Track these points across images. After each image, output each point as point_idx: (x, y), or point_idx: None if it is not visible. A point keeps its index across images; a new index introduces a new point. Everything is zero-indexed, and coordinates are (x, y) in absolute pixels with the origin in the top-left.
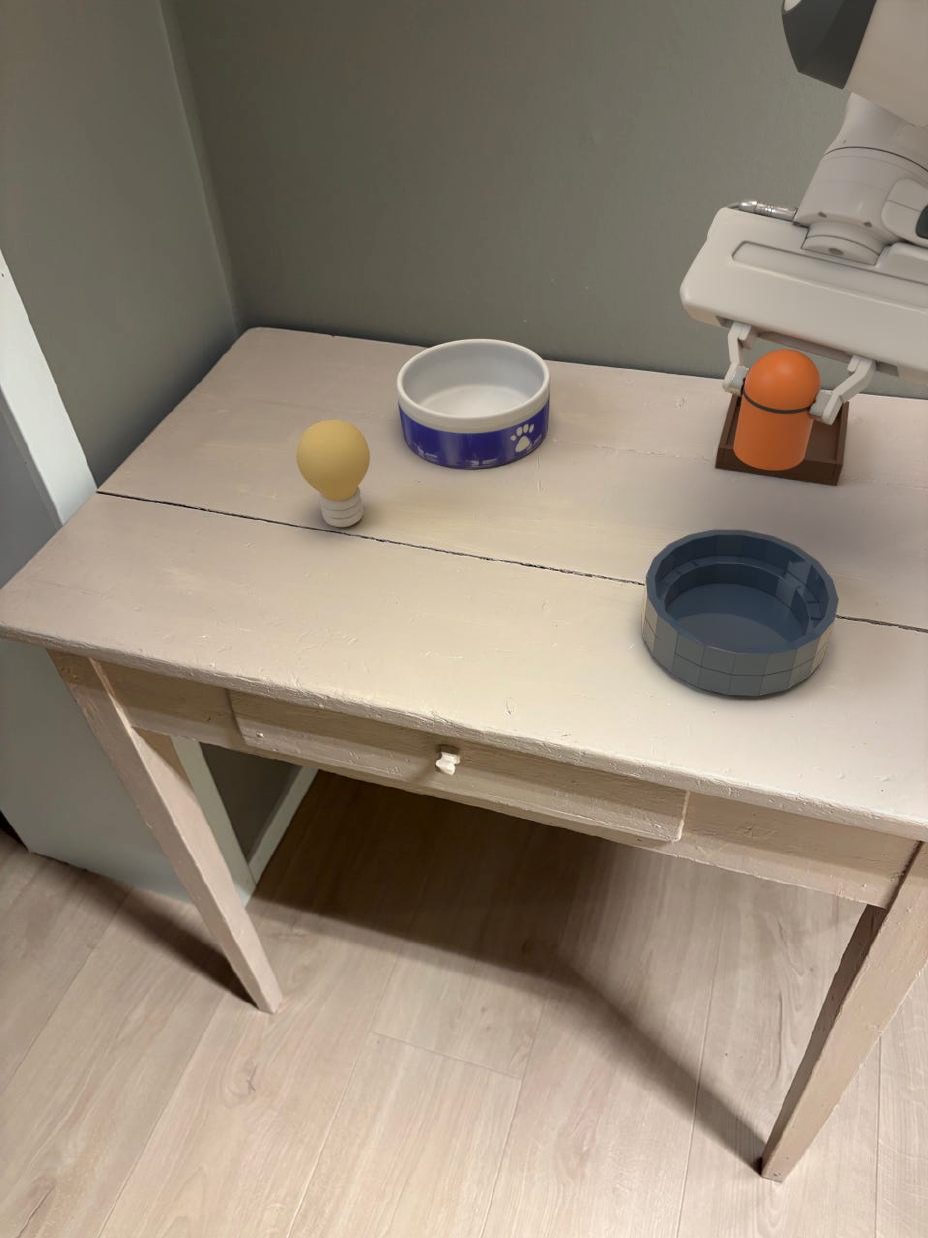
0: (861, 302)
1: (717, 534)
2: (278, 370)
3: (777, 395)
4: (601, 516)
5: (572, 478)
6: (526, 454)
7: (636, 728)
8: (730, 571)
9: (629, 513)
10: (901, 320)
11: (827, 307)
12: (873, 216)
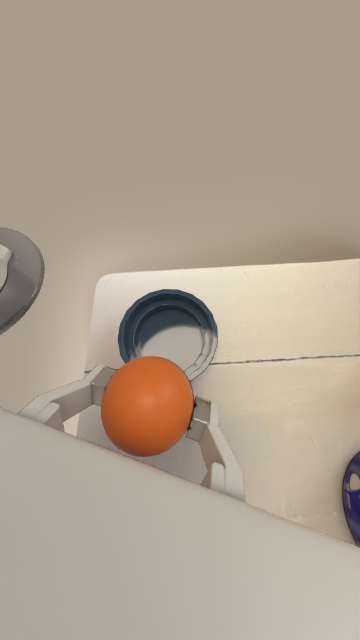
0: None
1: (187, 376)
2: None
3: (151, 356)
4: (261, 419)
5: (297, 459)
6: (344, 481)
7: (196, 279)
8: None
9: (246, 428)
10: None
11: (45, 526)
12: None
